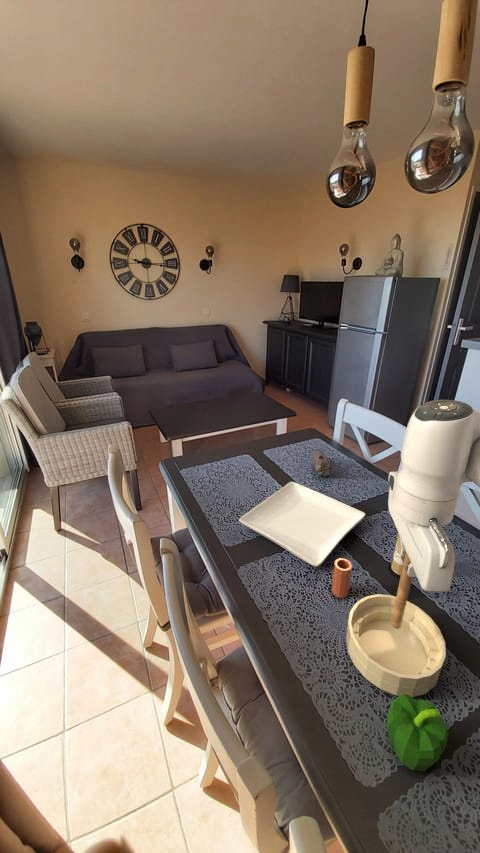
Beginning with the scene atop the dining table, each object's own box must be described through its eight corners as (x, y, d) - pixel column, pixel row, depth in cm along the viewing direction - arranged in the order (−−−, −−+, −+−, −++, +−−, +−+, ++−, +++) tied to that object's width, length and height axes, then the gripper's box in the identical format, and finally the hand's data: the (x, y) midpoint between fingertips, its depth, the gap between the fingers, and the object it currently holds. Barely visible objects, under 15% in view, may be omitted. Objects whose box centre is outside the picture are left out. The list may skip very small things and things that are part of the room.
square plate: (237, 529, 107) (237, 518, 105) (291, 489, 125) (291, 479, 123) (316, 576, 90) (317, 565, 88) (365, 522, 108) (367, 511, 106)
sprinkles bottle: (388, 563, 93) (395, 521, 88) (406, 563, 93) (414, 521, 87) (395, 577, 89) (403, 534, 83) (413, 577, 89) (423, 533, 83)
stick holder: (347, 585, 87) (350, 558, 84) (349, 598, 84) (353, 571, 80) (330, 584, 87) (333, 557, 84) (332, 597, 84) (335, 570, 81)
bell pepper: (382, 768, 55) (391, 731, 51) (383, 711, 62) (391, 675, 58) (443, 793, 53) (458, 756, 48) (437, 731, 60) (449, 694, 55)
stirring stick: (399, 620, 69) (417, 538, 61) (402, 629, 68) (421, 546, 60) (389, 619, 69) (406, 538, 61) (392, 628, 68) (410, 545, 60)
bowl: (421, 617, 79) (426, 597, 76) (454, 704, 63) (462, 683, 61) (340, 611, 81) (342, 591, 78) (353, 694, 65) (357, 672, 63)
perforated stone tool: (309, 460, 143) (310, 444, 140) (322, 459, 143) (323, 444, 140) (317, 480, 129) (318, 463, 127) (331, 480, 129) (333, 463, 127)
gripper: (476, 548, 47) (453, 621, 53) (422, 468, 66) (409, 529, 71) (425, 545, 48) (408, 618, 54) (386, 467, 67) (376, 527, 72)
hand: (408, 566), depth 63 cm, fingers closed on stirring stick, 2 cm apart
